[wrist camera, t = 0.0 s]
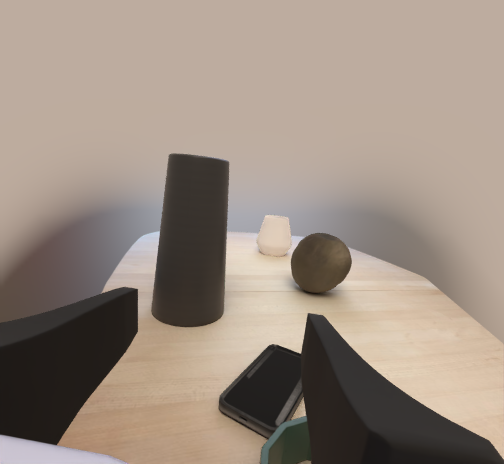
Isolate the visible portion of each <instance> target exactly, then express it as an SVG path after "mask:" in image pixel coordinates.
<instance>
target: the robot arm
mask: <svg viewBox="0 0 504 464" xmlns="http://www.w3.org/2000/svg"><path fill="white" fill-rule="evenodd" d="M137 332H138V289H135V288H128V287H122V288H118V289H114V290H111V291H108V292H105V293H102V294H99V295H96V296H94V297H91V298H88V299H85V300H82V301H79V302H76V303H74V304H70V305H67V306H64V307H61V308H58V309H55V310H52V311H48V312H45V313H41V314H38V315H34V316H30V317H26V318H21V319H17V320H13V321H8V322H3V323H0V464H129V463H127V462H124V461H122V460H119V459H117V458H114V457H112V456H109V455H104V454H99V453H94V452H88V451H83V450H78V449H73V448H67V447H62V446H57V444H58V442H59V441H60V439H61V437H62V436H63V434H64V433H65V431H66V430H67V428H68V427H69V425H70V424H71V422H72V421H73V419H74V418H75V416H76V415H77V413H78V412H79V410H80V409H81V407H82V406H83V405H84V403H85V402H86V401H87V399H88V398H89V397H90V396H91V394H92V393H93V392H94V391H95V389H96V388H97V387H98V386H99V384H100V383H101V382H102V381H103V379H104V378H105V377H106V376H107V375H108V373H109V372H110V371H111V370H112V368H113V367H114V366H115V365H116V363H117V362H118V361H119V360H120V358H121V357H122V356H123V354H124V353H125V352H126V350H127V349H128V347H129V346H130V344H131V342H132V341H133V339H134V337H135V335H136V334H137ZM301 381H302V389H303V396H304V403H305V410H306V417H307V423H308V430H309V437H310V447H311V463H312V464H504V460H503V458H502V457H501V456H500V454H499V453H498V451H497V450H496V449H495V447H494V446H493V445H492V444H491V442H490V441H489V440H487V439H485V438H483V437H481V436H479V435H477V434H475V433H473V432H471V431H469V430H467V429H465V428H463V427H462V426H460V425H458V424H456V423H454V422H452V421H450V420H448V419H446V418H445V417H443V416H441V415H439V414H438V413H436V412H434V411H433V410H431V409H429V408H428V407H426V406H424V405H423V404H421V403H420V402H418V401H416V400H415V399H413V398H412V397H410V396H409V395H408V394H406V393H405V392H403V391H402V390H400V389H399V388H398V387H396V386H395V385H393V384H392V383H391V382H389V381H388V380H387V379H386V378H384V377H383V376H382V375H381V374H379V373H378V372H377V371H376V370H375V369H373V368H372V367H371V366H370V365H369V364H368V363H367V362H366V361H364V360H363V359H362V358H361V357H360V356H359V355H358V354H357V353H356V352H355V351H354V350H353V349H352V348H351V347H350V346H349V345H348V343H347V342H346V341H345V340H344V339H343V338H342V337H341V336H340V335H339V333H338V332H337V331H336V330H335V329H334V327H333V326H332V325H331V324H330V323H329V322H328V320H327V319H326V318H325V317H324V316H323V315H317V314H310V313H308V316H307V322H306V328H305V334H304V340H303V346H302V352H301Z"/></svg>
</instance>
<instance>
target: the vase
mask: <svg viewBox="0 0 504 464" xmlns="http://www.w3.org/2000/svg"><path fill="white" fill-rule="evenodd" d="M228 185H229V162H228V161H227V160H224V159H219V158H212V157H205V156H198V155H188V154H170V155H169V159H168V168H167V176H166V185H165V193H164V203H163V211H162V219H161V229H160V238H159V246H158V256H157V264H156V272H155V282H154V290H153V301H152V314H153V316H154V317H155V318H156V319H158V320H159V321H161V322H163V323H166V324H170V325H174V326H182V327H194V326H202V325H206V324H210V323H212V322H215V321H216V320H218V319H219V318H220V317H221V316H222V315H223V311H224V293H225V292H224V290H225V265H226V239H227V212H228V210H227V209H228Z"/></svg>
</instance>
